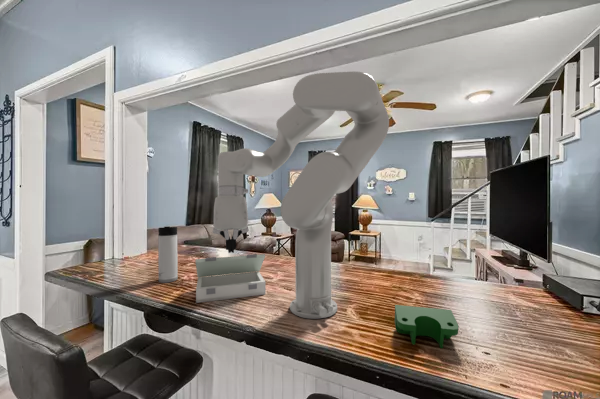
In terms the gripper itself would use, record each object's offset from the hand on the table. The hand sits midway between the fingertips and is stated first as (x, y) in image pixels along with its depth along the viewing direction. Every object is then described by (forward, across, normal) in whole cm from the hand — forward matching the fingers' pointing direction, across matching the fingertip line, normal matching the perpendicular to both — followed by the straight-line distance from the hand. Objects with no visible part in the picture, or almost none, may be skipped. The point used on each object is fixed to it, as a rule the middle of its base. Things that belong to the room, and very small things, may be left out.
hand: (231, 251), depth 80 cm
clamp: (+13, -36, +40) cm, 56 cm away
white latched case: (+13, 0, -3) cm, 14 cm away
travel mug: (+14, +21, -23) cm, 34 cm away
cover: (+5, 0, -3) cm, 6 cm away
